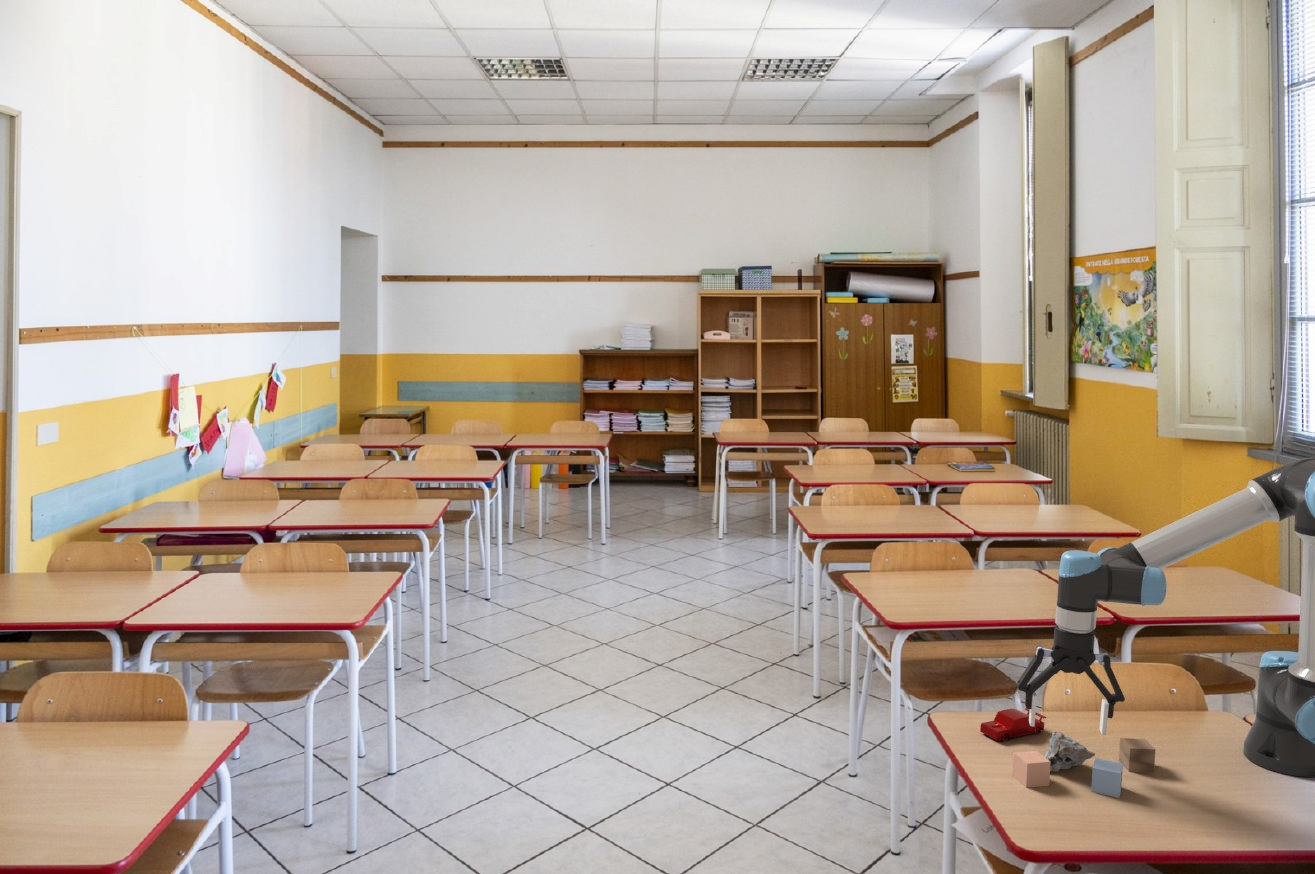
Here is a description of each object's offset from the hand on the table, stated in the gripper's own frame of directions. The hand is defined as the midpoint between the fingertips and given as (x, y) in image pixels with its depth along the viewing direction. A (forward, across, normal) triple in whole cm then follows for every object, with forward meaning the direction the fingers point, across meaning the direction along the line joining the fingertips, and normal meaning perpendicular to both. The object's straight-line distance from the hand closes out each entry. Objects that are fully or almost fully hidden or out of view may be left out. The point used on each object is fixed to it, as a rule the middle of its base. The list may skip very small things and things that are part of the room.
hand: (1066, 728), depth 199 cm
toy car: (+9, +8, -15) cm, 19 cm away
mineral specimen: (+8, 0, +1) cm, 9 cm away
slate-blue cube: (+8, -6, +8) cm, 13 cm away
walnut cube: (+8, -14, -4) cm, 17 cm away
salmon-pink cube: (+8, +8, +8) cm, 14 cm away
